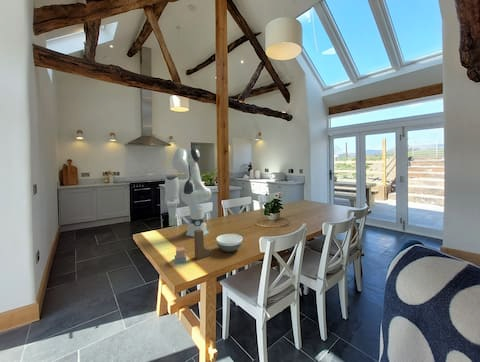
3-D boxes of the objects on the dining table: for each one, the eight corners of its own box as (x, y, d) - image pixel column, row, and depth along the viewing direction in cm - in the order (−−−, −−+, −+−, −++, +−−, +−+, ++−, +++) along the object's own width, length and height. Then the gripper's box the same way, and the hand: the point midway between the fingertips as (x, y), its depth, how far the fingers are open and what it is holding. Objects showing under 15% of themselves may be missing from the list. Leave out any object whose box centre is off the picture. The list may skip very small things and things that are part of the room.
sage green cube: (169, 223, 151) (169, 216, 151) (177, 223, 153) (177, 215, 152) (169, 225, 147) (168, 218, 146) (177, 225, 148) (176, 217, 147)
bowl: (211, 248, 163) (211, 236, 162) (233, 242, 173) (233, 232, 172) (224, 257, 147) (224, 245, 146) (247, 251, 157) (247, 239, 156)
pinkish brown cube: (176, 255, 145) (176, 248, 144) (184, 254, 146) (184, 247, 146) (176, 259, 140) (176, 251, 139) (184, 258, 141) (184, 250, 141)
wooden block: (206, 253, 154) (205, 227, 152) (210, 255, 150) (209, 229, 148) (194, 257, 148) (193, 230, 146) (198, 259, 144) (197, 232, 143)
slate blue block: (174, 258, 146) (174, 255, 145) (186, 257, 147) (186, 253, 147) (174, 263, 139) (174, 260, 139) (186, 262, 141) (186, 258, 140)
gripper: (168, 198, 157) (168, 217, 159) (166, 204, 137) (167, 226, 139) (177, 197, 159) (178, 217, 160) (177, 203, 139) (178, 225, 141)
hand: (173, 221), depth 149 cm, fingers closed on sage green cube, 5 cm apart
